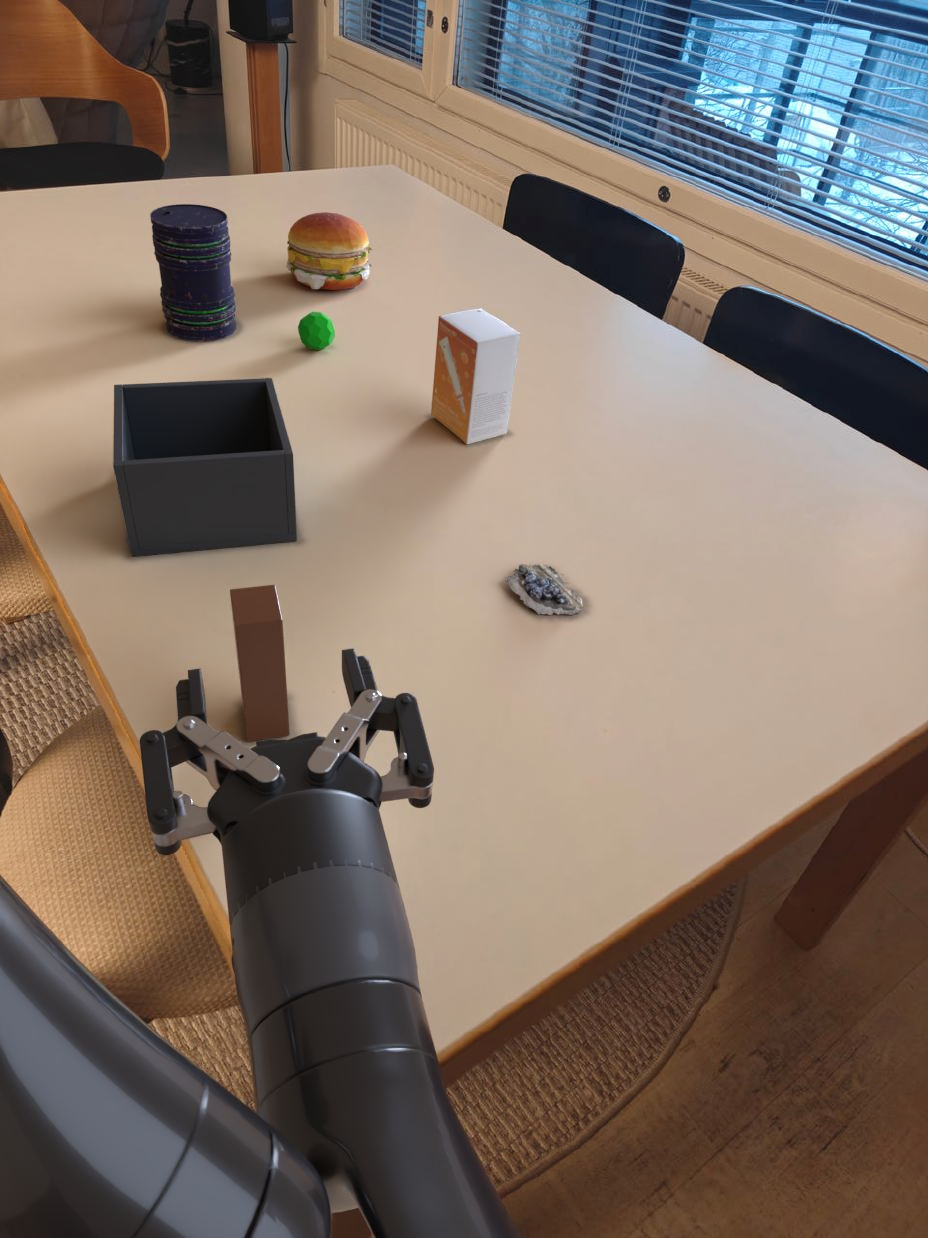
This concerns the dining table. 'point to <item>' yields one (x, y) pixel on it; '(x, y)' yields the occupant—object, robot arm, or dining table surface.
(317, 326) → the polyhedron
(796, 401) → the dining table surface
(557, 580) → the grey flat lumpy piece
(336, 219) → the burger
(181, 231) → the navy striped cylinder
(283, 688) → the chocolate carton
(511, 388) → the small box
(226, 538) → the waste bin
